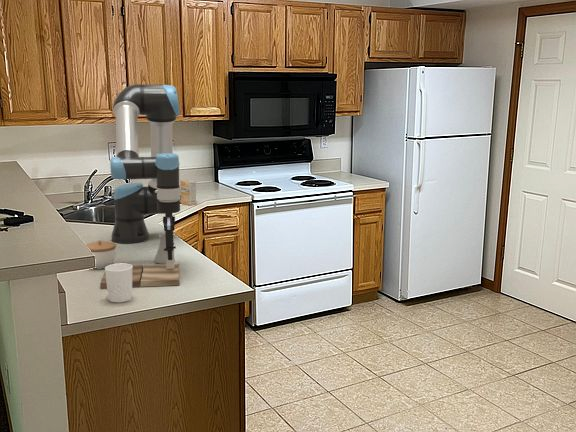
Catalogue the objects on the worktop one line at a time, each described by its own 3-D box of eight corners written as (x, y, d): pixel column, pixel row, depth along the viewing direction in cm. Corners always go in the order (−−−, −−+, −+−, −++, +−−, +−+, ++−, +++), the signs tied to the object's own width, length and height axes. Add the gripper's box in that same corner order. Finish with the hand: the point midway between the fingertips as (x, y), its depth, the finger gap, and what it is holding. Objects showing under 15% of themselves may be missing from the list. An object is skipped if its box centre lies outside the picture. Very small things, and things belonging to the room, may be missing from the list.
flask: (165, 257, 219) (165, 232, 217) (178, 261, 215) (177, 235, 213) (150, 261, 214) (149, 235, 212) (163, 265, 209) (162, 238, 207)
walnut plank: (107, 271, 202) (107, 266, 201) (143, 270, 204) (143, 264, 203) (100, 288, 184) (100, 282, 184) (139, 287, 186) (139, 281, 186)
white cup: (101, 298, 176) (100, 266, 174) (125, 292, 181) (124, 261, 179) (114, 305, 170) (113, 272, 168) (138, 299, 176) (137, 267, 174)
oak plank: (144, 269, 204) (144, 264, 203) (179, 268, 206) (179, 263, 205) (140, 286, 186) (140, 281, 186) (179, 285, 188) (178, 279, 188)
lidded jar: (115, 260, 215) (114, 236, 213) (118, 269, 205) (117, 243, 203) (84, 263, 211) (83, 238, 209) (86, 272, 201) (84, 245, 199)
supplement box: (180, 203, 323) (179, 180, 320) (186, 202, 327) (186, 179, 324) (190, 205, 318) (189, 182, 315) (196, 204, 322) (196, 181, 319)
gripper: (157, 197, 200) (159, 263, 205) (156, 203, 187) (158, 274, 192) (180, 196, 201) (181, 262, 206) (179, 203, 189) (181, 273, 193)
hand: (170, 268), depth 199 cm, fingers closed
